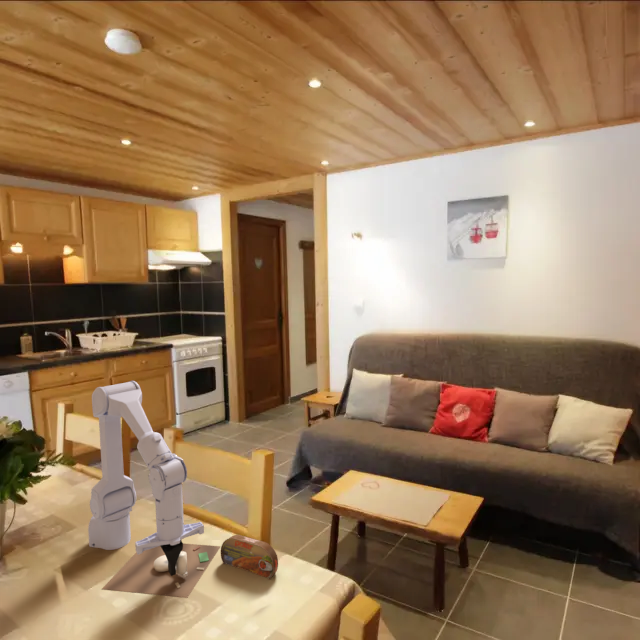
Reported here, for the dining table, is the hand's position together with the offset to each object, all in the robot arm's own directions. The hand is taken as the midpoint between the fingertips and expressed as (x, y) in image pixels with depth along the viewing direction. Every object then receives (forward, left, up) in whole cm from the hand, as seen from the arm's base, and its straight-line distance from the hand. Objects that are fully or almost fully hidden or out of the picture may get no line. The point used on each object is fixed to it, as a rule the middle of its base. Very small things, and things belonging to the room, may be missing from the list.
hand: (172, 572), depth 102 cm
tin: (+16, +7, -4) cm, 18 cm away
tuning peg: (-2, +4, -2) cm, 4 cm away
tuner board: (-4, +5, -3) cm, 7 cm away
